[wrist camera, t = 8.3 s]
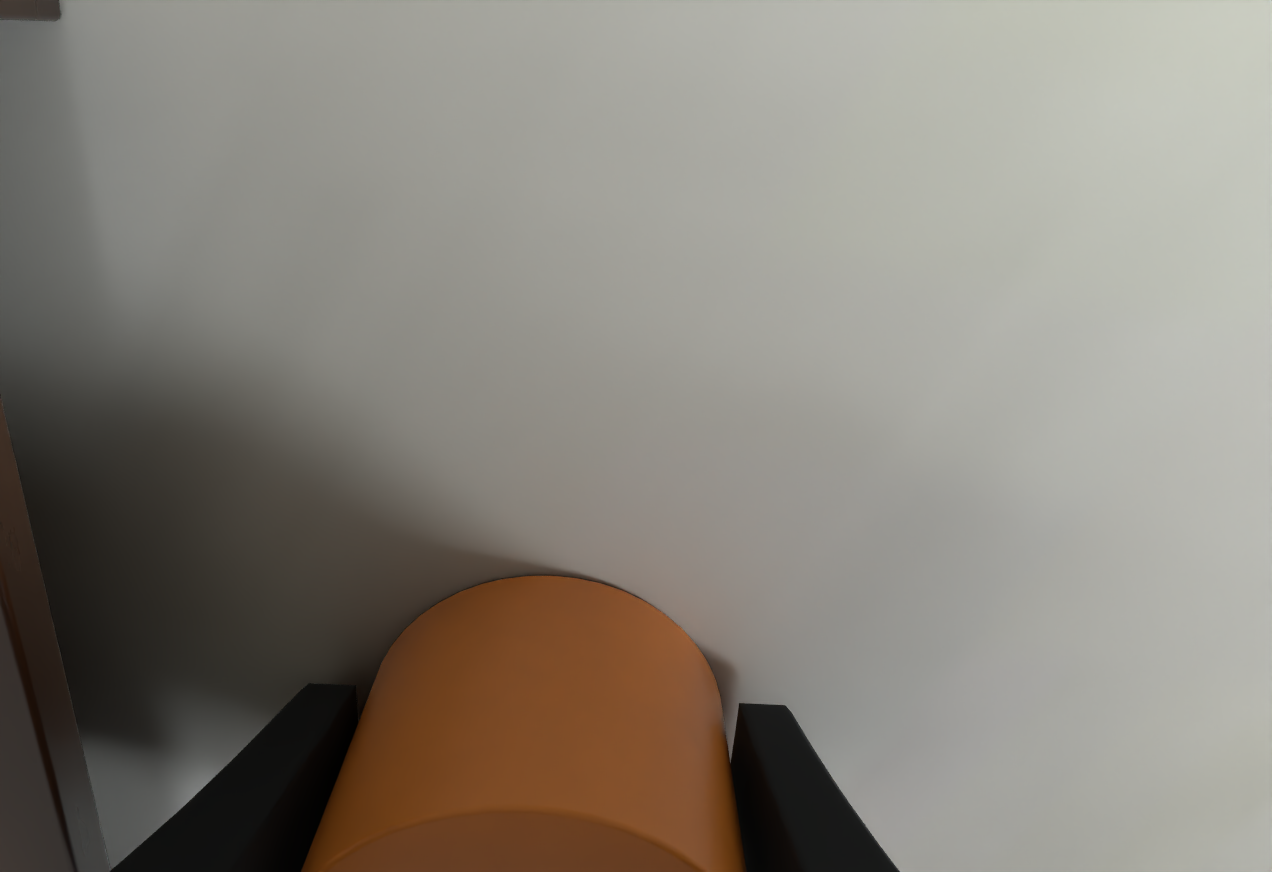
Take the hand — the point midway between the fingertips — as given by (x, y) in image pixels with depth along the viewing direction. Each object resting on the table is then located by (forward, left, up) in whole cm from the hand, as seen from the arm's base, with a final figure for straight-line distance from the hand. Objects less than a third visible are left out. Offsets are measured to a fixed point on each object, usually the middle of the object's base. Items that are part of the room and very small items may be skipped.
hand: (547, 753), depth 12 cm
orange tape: (0, 0, 0) cm, 1 cm away
